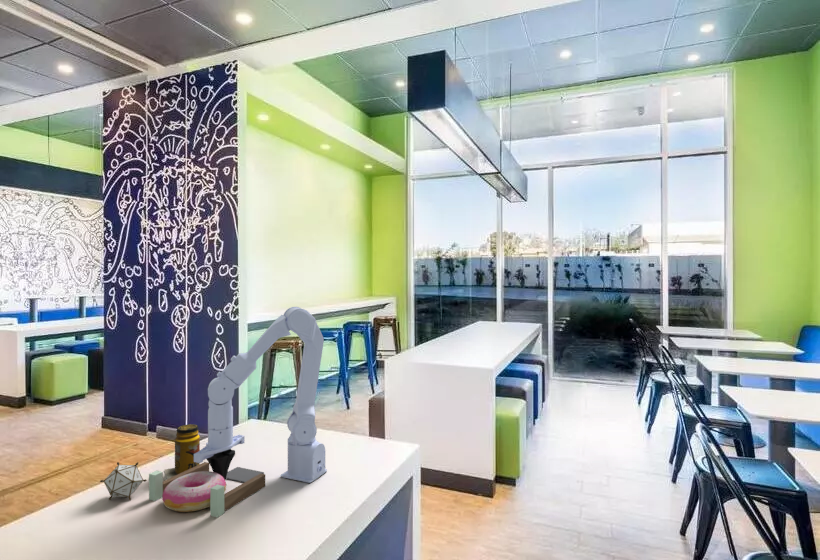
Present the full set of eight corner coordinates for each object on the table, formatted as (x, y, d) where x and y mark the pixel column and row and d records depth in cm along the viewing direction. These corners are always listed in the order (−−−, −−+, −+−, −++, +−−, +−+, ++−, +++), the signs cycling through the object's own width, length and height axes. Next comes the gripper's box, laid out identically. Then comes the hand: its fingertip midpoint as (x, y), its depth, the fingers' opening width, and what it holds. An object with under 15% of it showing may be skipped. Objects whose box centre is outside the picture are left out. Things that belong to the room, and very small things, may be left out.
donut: (183, 487, 114) (183, 467, 114) (236, 488, 113) (236, 468, 113) (149, 515, 100) (149, 492, 100) (209, 516, 100) (209, 494, 100)
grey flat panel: (263, 473, 122) (263, 472, 122) (246, 483, 116) (246, 482, 116) (237, 467, 126) (237, 466, 126) (219, 477, 120) (219, 476, 120)
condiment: (203, 473, 122) (203, 428, 122) (167, 480, 118) (167, 434, 118) (198, 463, 128) (198, 421, 128) (164, 470, 124) (164, 426, 124)
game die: (122, 516, 107) (104, 495, 101) (105, 495, 111) (87, 473, 105) (158, 487, 112) (143, 465, 106) (140, 468, 116) (125, 446, 110)
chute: (266, 486, 114) (267, 462, 114) (217, 517, 100) (217, 489, 99) (203, 472, 122) (203, 450, 122) (149, 499, 108) (148, 473, 108)
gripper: (230, 416, 122) (229, 467, 122) (184, 433, 109) (184, 490, 109) (250, 419, 120) (250, 471, 120) (206, 437, 106) (206, 496, 106)
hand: (220, 481), depth 114 cm, fingers closed
